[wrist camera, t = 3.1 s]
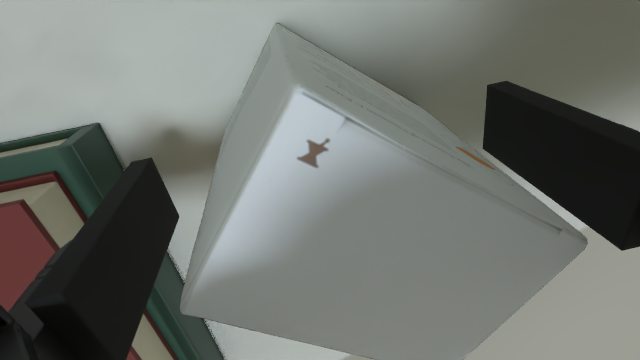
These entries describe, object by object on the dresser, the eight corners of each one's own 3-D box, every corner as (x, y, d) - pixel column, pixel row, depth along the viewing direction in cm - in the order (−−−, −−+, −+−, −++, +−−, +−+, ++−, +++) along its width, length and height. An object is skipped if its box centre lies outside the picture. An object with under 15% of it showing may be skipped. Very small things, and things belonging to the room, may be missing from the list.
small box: (222, 131, 16) (163, 316, 7) (275, 17, 14) (286, 76, 5) (361, 193, 19) (445, 385, 10) (423, 106, 17) (601, 247, 8)
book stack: (98, 122, 15) (35, 173, 11) (223, 358, 24) (214, 435, 20) (-220, 188, 15) (-405, 266, 11) (27, 403, 24) (-24, 490, 20)
